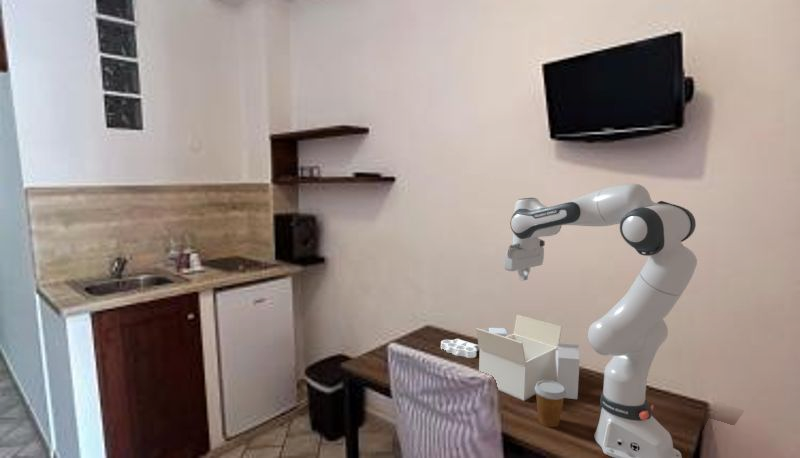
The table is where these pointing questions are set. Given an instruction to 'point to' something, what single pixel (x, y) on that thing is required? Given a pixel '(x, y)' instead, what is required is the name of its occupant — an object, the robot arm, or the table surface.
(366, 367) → the table surface
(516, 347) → the near flap
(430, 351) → the table surface
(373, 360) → the table surface
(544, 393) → the disposable coffee cup
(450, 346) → the knuckle duster
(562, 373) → the milk carton
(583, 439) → the table surface
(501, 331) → the supplement box
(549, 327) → the far flap
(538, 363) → the carton
